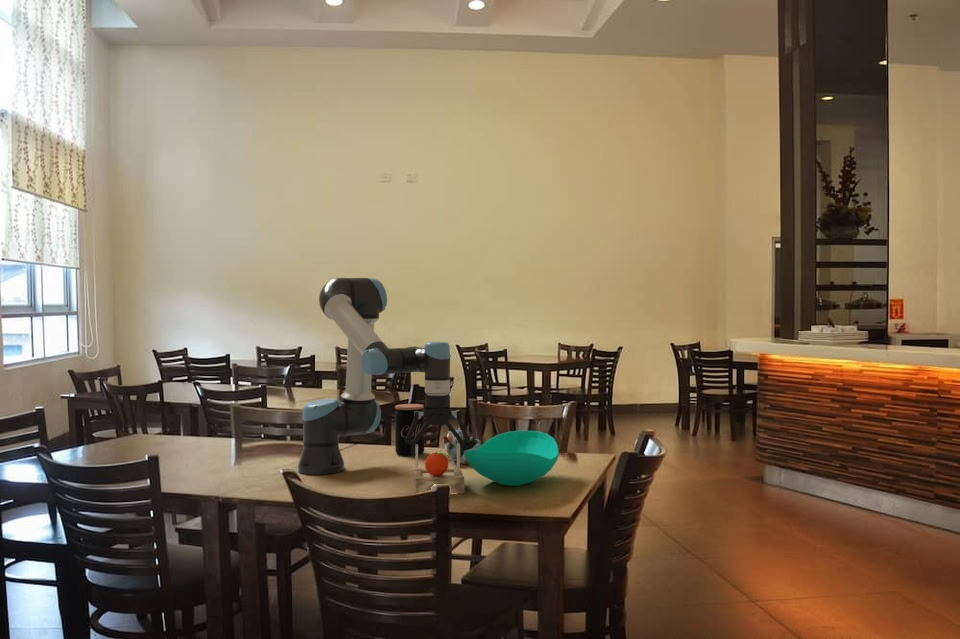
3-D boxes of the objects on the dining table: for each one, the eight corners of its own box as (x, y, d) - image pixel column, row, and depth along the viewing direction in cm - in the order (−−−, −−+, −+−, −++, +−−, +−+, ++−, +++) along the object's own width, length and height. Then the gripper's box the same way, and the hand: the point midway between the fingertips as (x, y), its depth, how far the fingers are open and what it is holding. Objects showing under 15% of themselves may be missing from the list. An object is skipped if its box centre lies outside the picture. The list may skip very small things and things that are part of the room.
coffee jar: (399, 457, 286) (398, 408, 286) (392, 452, 297) (392, 404, 296) (427, 455, 290) (427, 406, 290) (420, 450, 300) (419, 403, 300)
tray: (415, 495, 228) (415, 479, 228) (414, 484, 242) (413, 469, 242) (464, 493, 229) (464, 477, 229) (459, 483, 243) (459, 467, 243)
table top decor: (489, 468, 265) (489, 429, 265) (570, 473, 257) (570, 432, 256) (447, 495, 228) (446, 449, 228) (540, 501, 219) (540, 454, 219)
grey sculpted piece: (477, 467, 268) (457, 431, 266) (450, 477, 273) (430, 443, 272) (493, 447, 281) (474, 413, 280) (467, 457, 287) (448, 424, 285)
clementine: (453, 473, 238) (453, 450, 238) (450, 478, 231) (450, 454, 231) (427, 473, 239) (427, 449, 239) (423, 478, 232) (423, 454, 232)
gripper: (396, 396, 230) (397, 470, 231) (479, 394, 233) (479, 468, 233) (396, 393, 237) (396, 464, 238) (476, 391, 240) (476, 462, 241)
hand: (437, 466), depth 236 cm, fingers open, 12 cm apart
